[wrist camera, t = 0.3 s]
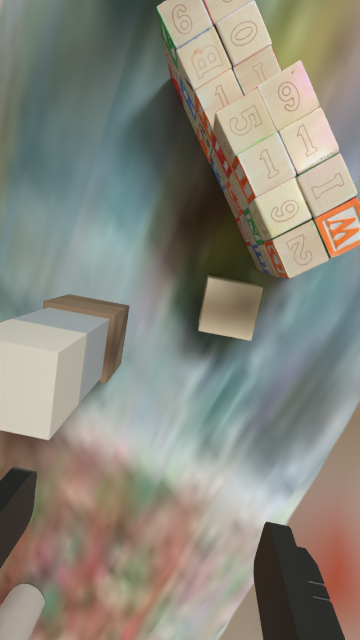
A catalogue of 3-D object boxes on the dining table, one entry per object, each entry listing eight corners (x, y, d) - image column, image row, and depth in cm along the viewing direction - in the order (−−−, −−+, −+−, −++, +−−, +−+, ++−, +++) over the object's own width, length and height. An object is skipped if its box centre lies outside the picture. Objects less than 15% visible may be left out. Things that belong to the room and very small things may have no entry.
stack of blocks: (168, 78, 31) (147, -36, 19) (226, 42, 30) (242, -101, 18) (258, 273, 34) (289, 281, 22) (313, 246, 33) (377, 239, 21)
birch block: (207, 274, 35) (208, 277, 29) (252, 283, 34) (263, 288, 28) (198, 318, 36) (198, 330, 30) (242, 327, 35) (251, 340, 29)
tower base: (69, 294, 36) (43, 301, 30) (129, 305, 36) (115, 314, 30) (63, 352, 37) (37, 369, 32) (120, 363, 37) (105, 383, 31)
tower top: (11, 318, 24) (-37, 333, 19) (87, 333, 24) (58, 352, 19) (6, 390, 26) (-41, 421, 21) (78, 405, 25) (48, 440, 20)
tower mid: (48, 307, 30) (11, 318, 24) (109, 319, 30) (87, 333, 24) (42, 365, 31) (5, 390, 26) (101, 377, 31) (78, 405, 25)
